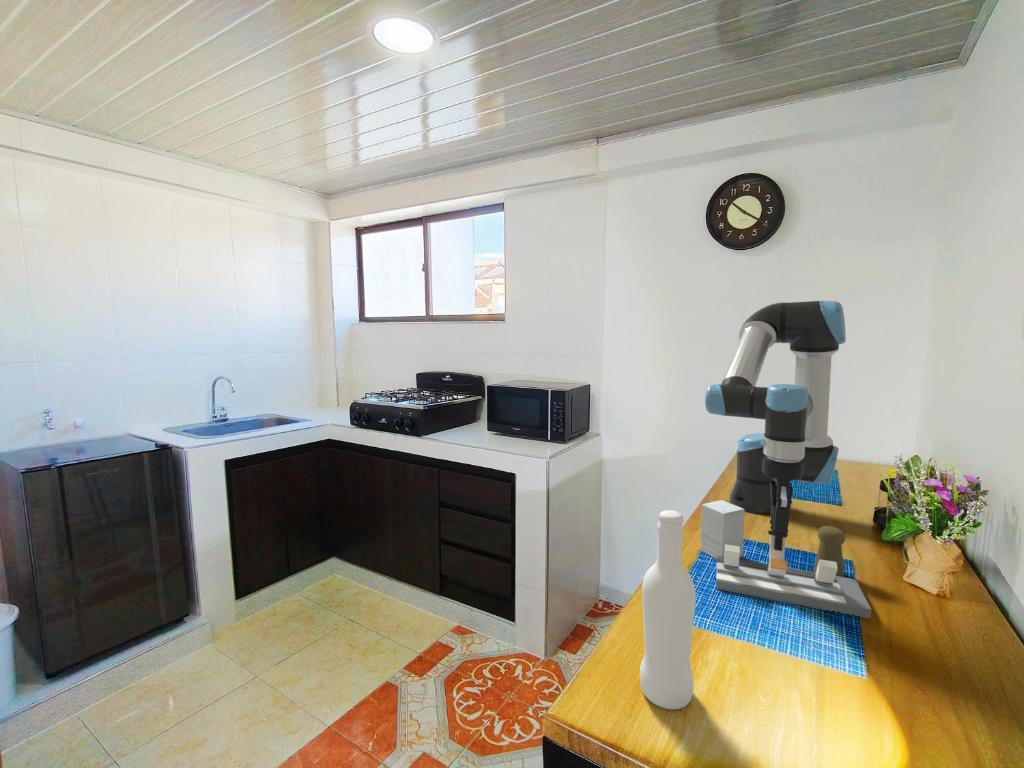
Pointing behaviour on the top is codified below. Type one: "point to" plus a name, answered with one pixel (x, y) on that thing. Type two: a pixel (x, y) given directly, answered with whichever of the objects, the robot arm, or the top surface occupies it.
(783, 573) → the paddle
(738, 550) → the white block
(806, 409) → the robot arm
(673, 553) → the bottle
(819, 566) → the white block
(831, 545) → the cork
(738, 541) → the supplement box
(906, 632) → the top surface
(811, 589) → the breaker panel
